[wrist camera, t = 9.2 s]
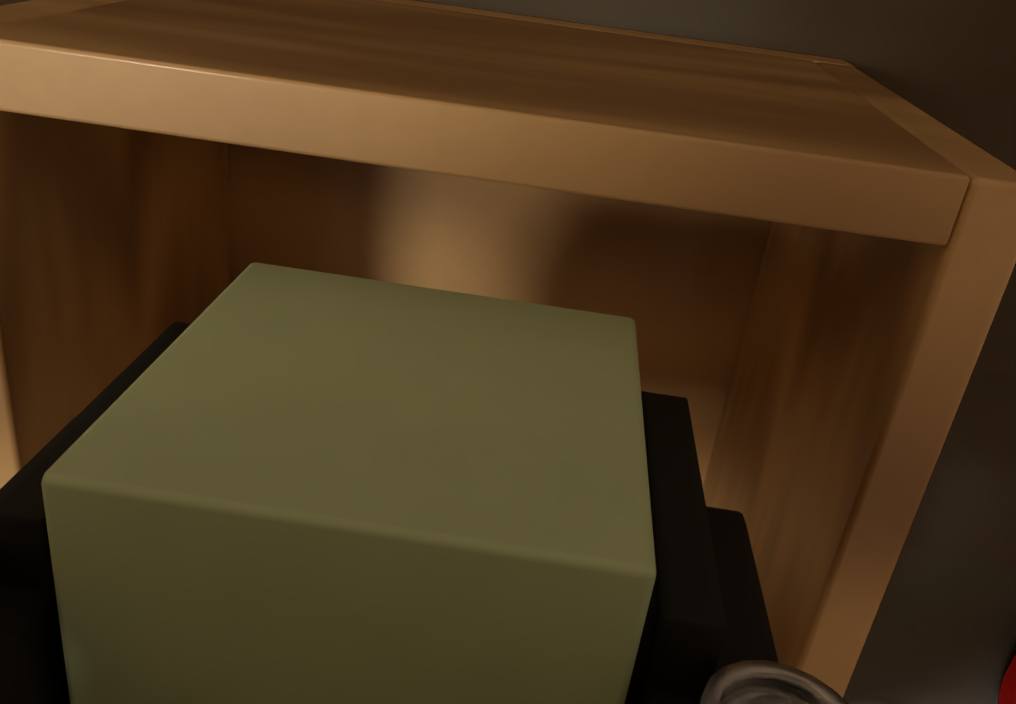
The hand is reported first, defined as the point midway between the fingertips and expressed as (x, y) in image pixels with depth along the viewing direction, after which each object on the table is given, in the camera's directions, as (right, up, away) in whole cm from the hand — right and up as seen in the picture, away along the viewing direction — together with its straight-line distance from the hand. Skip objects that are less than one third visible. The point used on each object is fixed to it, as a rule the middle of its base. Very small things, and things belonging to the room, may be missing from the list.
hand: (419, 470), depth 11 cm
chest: (0, +1, +10) cm, 10 cm away
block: (0, 0, +1) cm, 1 cm away
